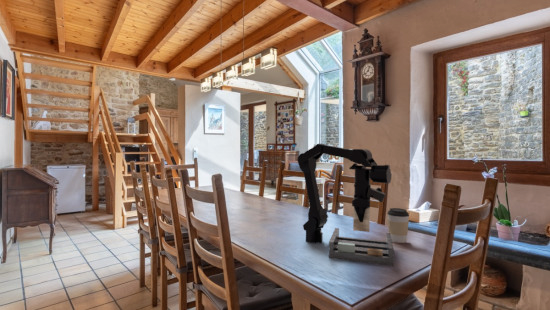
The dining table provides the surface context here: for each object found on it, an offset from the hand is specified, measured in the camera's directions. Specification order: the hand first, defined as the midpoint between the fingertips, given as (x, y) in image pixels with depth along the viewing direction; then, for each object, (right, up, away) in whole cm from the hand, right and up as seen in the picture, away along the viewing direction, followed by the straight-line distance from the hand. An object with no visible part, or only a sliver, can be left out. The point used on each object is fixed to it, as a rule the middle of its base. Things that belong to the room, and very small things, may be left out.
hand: (361, 221), depth 115 cm
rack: (0, -13, -1) cm, 13 cm away
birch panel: (0, -4, 0) cm, 4 cm away
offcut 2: (+2, -12, -9) cm, 15 cm away
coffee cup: (+21, -13, +16) cm, 29 cm away
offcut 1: (-7, -12, -6) cm, 15 cm away
